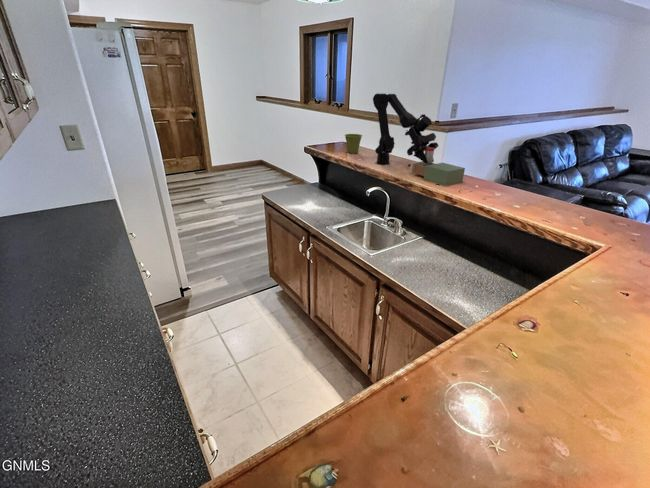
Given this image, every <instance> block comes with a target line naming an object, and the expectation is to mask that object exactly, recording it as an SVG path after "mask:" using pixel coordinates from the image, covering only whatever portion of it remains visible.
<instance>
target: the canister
mask: <svg viewBox="0 0 650 488" xmlns="http://www.w3.org/2000/svg"><path fill="white" fill-rule="evenodd" d="M434 149H435V148H433V147H426V148H425V151H424V154H425V156H426V159H427V161H428V163H424V162H423V166H426V165H432V163H433V162H432V160H433V159H434V154H435V150H436V149H435V150H434Z"/></svg>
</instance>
